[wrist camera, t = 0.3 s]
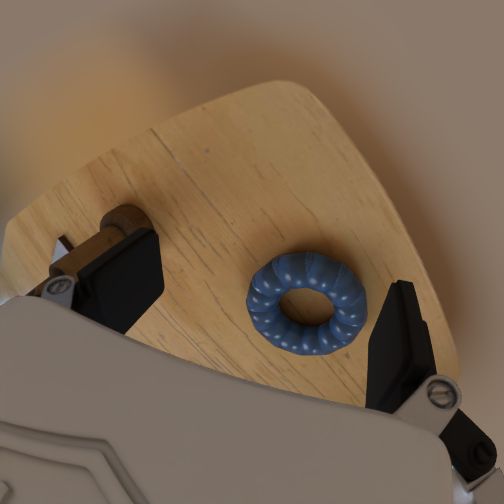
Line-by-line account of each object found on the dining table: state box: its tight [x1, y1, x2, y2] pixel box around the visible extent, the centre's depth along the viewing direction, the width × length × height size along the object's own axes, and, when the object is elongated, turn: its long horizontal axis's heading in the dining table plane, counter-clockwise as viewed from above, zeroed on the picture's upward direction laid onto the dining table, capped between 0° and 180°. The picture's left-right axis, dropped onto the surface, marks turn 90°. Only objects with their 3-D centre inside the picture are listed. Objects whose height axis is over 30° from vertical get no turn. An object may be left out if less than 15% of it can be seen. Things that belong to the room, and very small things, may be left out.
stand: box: [25, 235, 74, 296], centre depth 34 cm, size 8×8×10 cm
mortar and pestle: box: [34, 205, 153, 295], centre depth 23 cm, size 7×6×18 cm
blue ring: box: [246, 251, 368, 355], centre depth 26 cm, size 11×11×3 cm
